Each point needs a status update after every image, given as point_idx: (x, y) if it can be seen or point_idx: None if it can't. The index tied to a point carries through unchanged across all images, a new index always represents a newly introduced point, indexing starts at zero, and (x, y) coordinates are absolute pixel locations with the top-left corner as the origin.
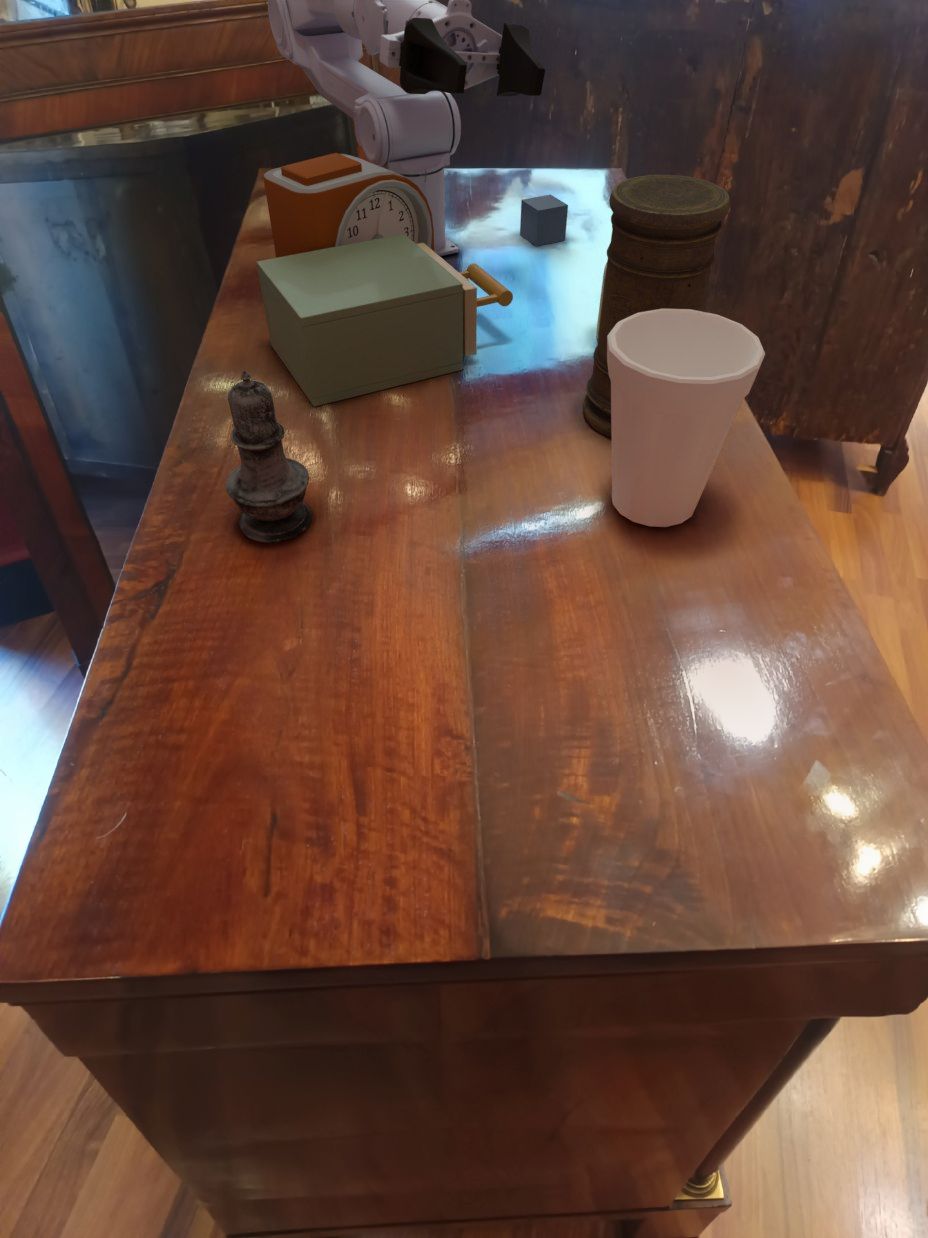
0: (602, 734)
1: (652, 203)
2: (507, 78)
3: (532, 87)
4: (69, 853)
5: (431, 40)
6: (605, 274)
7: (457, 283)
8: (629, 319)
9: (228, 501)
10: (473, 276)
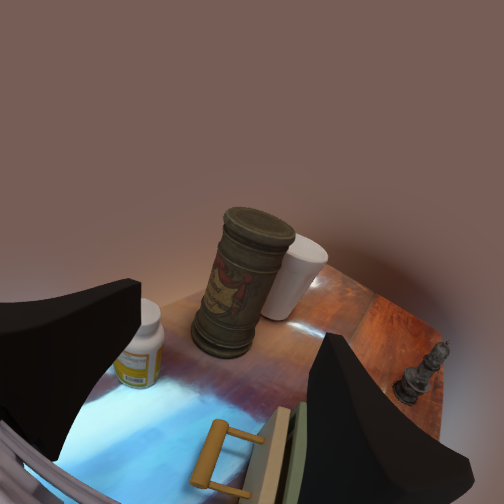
0: (341, 294)
1: (282, 225)
2: (65, 404)
3: (136, 321)
4: (437, 340)
5: (397, 408)
6: (157, 348)
7: (304, 403)
8: (307, 258)
9: (419, 411)
10: (212, 472)
